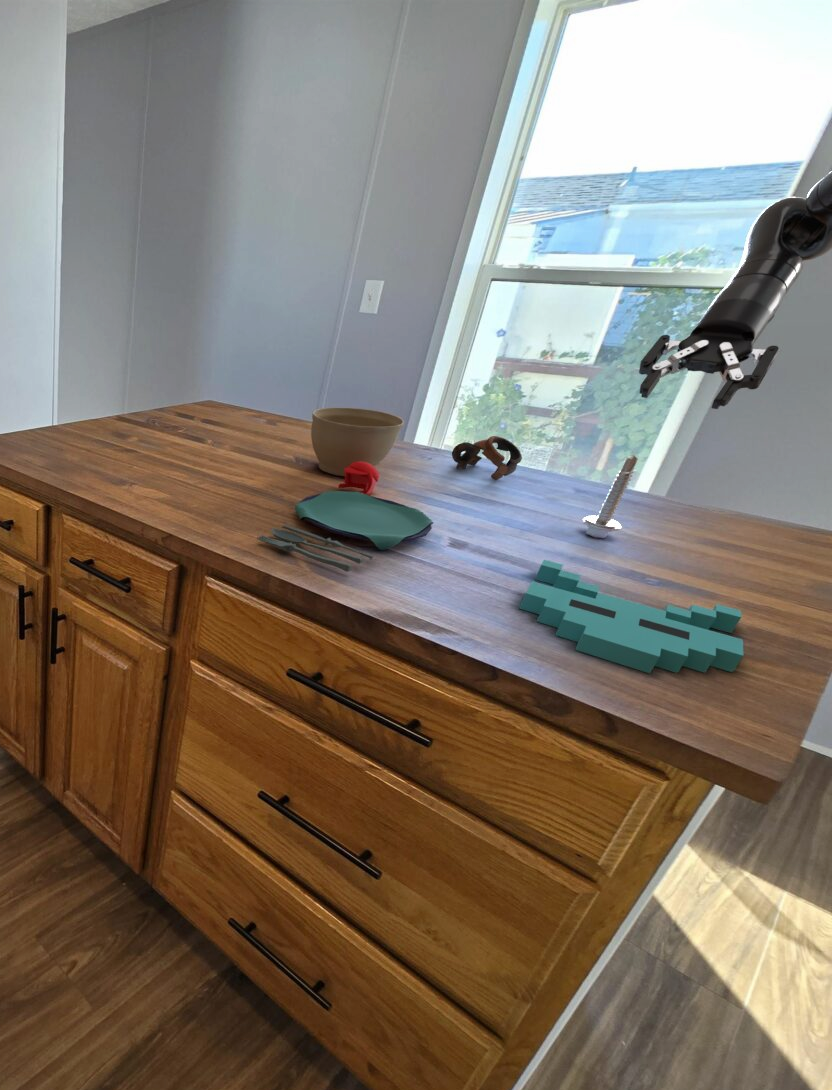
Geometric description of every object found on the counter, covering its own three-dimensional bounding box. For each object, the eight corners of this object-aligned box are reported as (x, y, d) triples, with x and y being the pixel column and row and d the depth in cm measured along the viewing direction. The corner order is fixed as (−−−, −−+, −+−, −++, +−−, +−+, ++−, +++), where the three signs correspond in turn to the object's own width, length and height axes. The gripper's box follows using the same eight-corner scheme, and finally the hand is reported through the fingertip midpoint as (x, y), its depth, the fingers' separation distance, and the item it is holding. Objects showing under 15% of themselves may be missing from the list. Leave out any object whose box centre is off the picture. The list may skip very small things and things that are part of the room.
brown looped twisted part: (483, 466, 136) (517, 437, 129) (497, 499, 131) (533, 471, 124) (433, 451, 134) (465, 421, 127) (445, 484, 129) (479, 455, 122)
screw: (574, 534, 104) (581, 526, 107) (612, 544, 101) (617, 535, 104) (610, 454, 98) (617, 448, 101) (652, 462, 95) (657, 455, 98)
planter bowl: (401, 471, 131) (417, 417, 125) (367, 490, 121) (383, 431, 116) (323, 453, 141) (335, 402, 135) (286, 469, 131) (298, 414, 126)
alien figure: (537, 573, 92) (508, 628, 79) (544, 559, 91) (515, 612, 78) (731, 626, 80) (733, 700, 67) (741, 610, 79) (745, 682, 66)
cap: (346, 484, 124) (354, 453, 121) (379, 492, 120) (388, 460, 117) (329, 494, 119) (337, 462, 116) (363, 503, 115) (372, 470, 112)
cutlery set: (449, 529, 105) (454, 516, 104) (358, 583, 89) (362, 568, 88) (333, 495, 119) (336, 482, 118) (234, 536, 102) (237, 522, 101)
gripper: (682, 293, 103) (624, 376, 103) (810, 301, 93) (747, 393, 93) (675, 326, 108) (620, 405, 108) (796, 337, 98) (735, 424, 98)
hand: (678, 399), depth 100 cm, fingers open, 8 cm apart
